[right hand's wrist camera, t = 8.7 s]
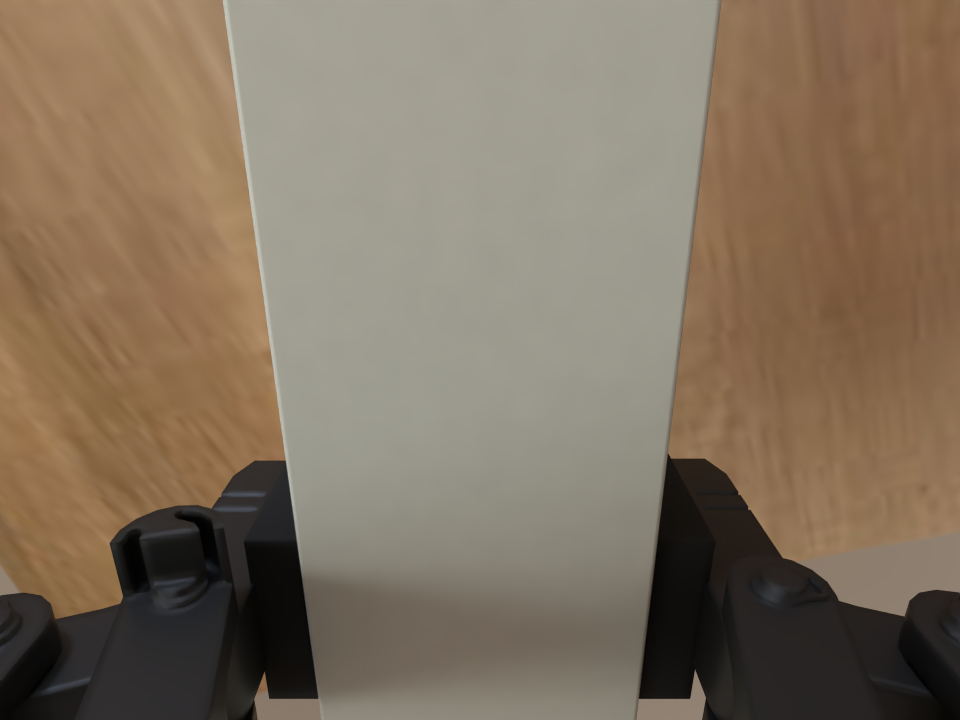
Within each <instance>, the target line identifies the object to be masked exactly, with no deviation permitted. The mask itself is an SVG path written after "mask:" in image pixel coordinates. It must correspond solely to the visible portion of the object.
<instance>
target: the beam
mask: <svg viewBox="0 0 960 720" xmlns="http://www.w3.org/2000/svg"><path fill="white" fill-rule="evenodd" d="M223 5H224V12H225V19H226V27H227V34H228V41H229V48H230V56H231V63H232V70H233V78H234V85H235V92H236V100H237V107H238V114H239V121H240V129H241V136H242V143H243V151H244V158H245V165H246V173H247V180H248V187H249V194H250V202H251V209H252V216H253V224H254V231H255V238H256V246H257V253H258V260H259V267H260V275H261V282H262V289H263V297H264V304H265V311H266V319H267V326H268V333H269V340H270V348H271V355H272V362H273V370H274V377H275V384H276V392H277V399H278V406H279V413H280V421H281V428H282V435H283V443H284V450H285V457H286V465H287V472H288V479H289V486H290V494H291V501H292V508H293V516H294V523H295V530H296V538H297V545H298V552H299V559H300V567H301V574H302V581H303V589H304V596H305V603H306V611H307V618H308V625H309V632H310V640H311V647H312V654H313V662H314V669H315V676H316V684H317V691H318V698H319V705H320V713H321V720H636V717H637V709H638V700H639V692H640V684H641V675H642V667H643V658H644V650H645V641H646V633H647V625H648V616H649V608H650V599H651V591H652V582H653V574H654V566H655V557H656V549H657V540H658V532H659V523H660V515H661V506H662V498H663V490H664V481H665V473H666V464H667V456H668V447H669V439H670V430H671V422H672V414H673V405H674V397H675V388H676V380H677V371H678V363H679V355H680V346H681V338H682V329H683V321H684V312H685V304H686V295H687V287H688V279H689V270H690V262H691V253H692V245H693V236H694V228H695V219H696V211H697V203H698V194H699V186H700V177H701V169H702V160H703V152H704V144H705V135H706V127H707V118H708V110H709V101H710V93H711V84H712V76H713V68H714V59H715V51H716V42H717V34H718V25H719V17H720V8H721V0H223Z"/></svg>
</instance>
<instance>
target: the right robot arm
mask: <svg viewBox="0 0 960 720" xmlns="http://www.w3.org/2000/svg"><path fill="white" fill-rule="evenodd" d="M110 547H111V551H112V554H113V558H114V562H115V566H116V570H117V574H118V578H119V582H120V586H121V589H122V593H123V599H122V601H121V604H118V605H114V606H111V607H107V608H104V609H100V610H95V611H91V612H86V613H82V614H77V615H73V616H68V617H64V618H59V619H55V616H54V613H53V610H52V607H51V604H50V603H49V602H48V601H47V600H46V599H44V598H43V597H42V596H40V595H35V594H29V593H17V594H9V595H1V596H0V720H257V713H256V707H255V701H254V698H255V695H256V693H257V690H258V687H259V685H260V682H261V680H262V677H263V674H264V672H265V675H266V681H267V688H268V694H269V698H270V699H319V698H318V691H317V684H316V676H315V669H314V662H313V654H312V647H311V640H310V632H309V625H308V618H307V611H306V603H305V596H304V589H303V581H302V574H301V567H300V559H299V552H298V545H297V538H296V530H295V523H294V516H293V508H292V501H291V494H290V486H289V479H288V472H287V465H286V461H254V462H252V463H251V464H250V465H248V466H247V467H245V468H244V469H243V470H241V471H240V472H238V473H237V474H236V475H234V476H233V477H232V479H231V480H230V482H229V483H228V485H227V486H226V488H225V489H224V491H223V492H222V496H221V497H219V498H218V500H217V501H216V503H215V504H214V506H213V507H212V509H210V508H206V507H202V506H198V505H189V506H174V507H170V508H165V509H161V510H157V511H154V512H152V513H149V514H147V515H145V516H142V517H140V518H137V519H136V520H134V521H133V522H131V523H130V524H128V525H127V526H125V527H124V528H122V529H121V530H120V531H119V532H118V533H117V534H116V536H115V537H114V538H113V539H112V541H111V542H110ZM695 670H696V673H697V675H698V678H699V680H700V683H701V686H702V688H703V691H704V694H705V696H706V701H705V707H704V713H703V718H702V720H960V593H958V592H950V591H942V590H932V591H927V592H921V593H918V594H917V595H916V596H915V597H914V598H912V599H911V600H910V601H909V604H908V608H907V611H906V614H905V617H904V616H899V615H895V614H890V613H886V612H881V611H877V610H872V609H867V608H863V607H858V606H855V605H851V604H848V603H844V602H841V601H839V600H838V598H837V596H836V594H835V593H834V591H833V590H832V588H831V587H830V585H829V584H828V582H826V581H825V580H824V579H823V578H821V577H820V576H819V575H818V574H816V573H815V572H814V571H813V570H811V569H809V568H807V567H805V566H803V565H801V564H798V563H796V562H794V561H792V560H788V559H784V558H782V556H781V555H780V553H779V552H778V550H777V549H776V547H775V546H774V544H773V543H772V541H771V540H770V539H769V537H768V536H767V534H766V533H765V531H764V530H763V528H762V527H761V525H760V524H759V522H758V521H757V519H756V518H755V516H754V515H753V513H752V512H751V510H748V506H747V504H746V503H745V501H744V500H743V498H742V497H741V495H738V491H737V489H736V488H735V486H734V485H733V483H732V482H731V480H730V479H729V477H728V476H727V474H726V473H724V472H723V471H721V470H720V469H719V468H717V467H716V466H714V465H713V464H711V463H710V462H709V461H707V460H706V459H671V458H670V456H669V454H668V456H667V464H666V473H665V481H664V490H663V498H662V506H661V515H660V523H659V532H658V540H657V549H656V557H655V566H654V574H653V582H652V591H651V599H650V608H649V616H648V625H647V633H646V641H645V650H644V658H643V667H642V675H641V684H640V692H639V699H690V696H691V690H692V684H693V678H694V672H695Z"/></svg>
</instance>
